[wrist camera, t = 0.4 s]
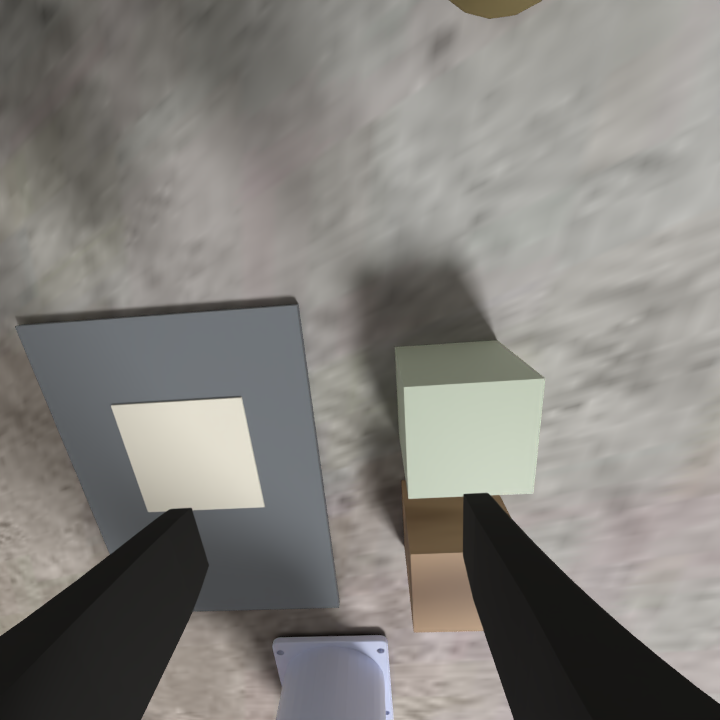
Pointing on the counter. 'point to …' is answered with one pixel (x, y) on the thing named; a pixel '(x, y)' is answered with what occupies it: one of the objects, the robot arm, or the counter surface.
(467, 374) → the sage block
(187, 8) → the counter surface
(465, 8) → the cork
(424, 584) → the walnut block
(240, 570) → the mat
